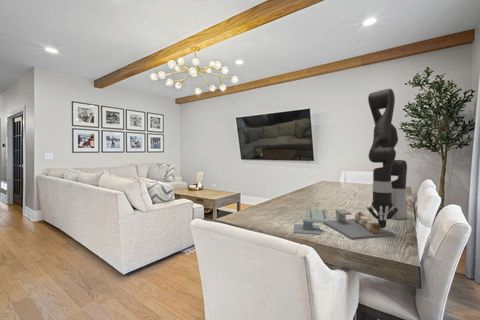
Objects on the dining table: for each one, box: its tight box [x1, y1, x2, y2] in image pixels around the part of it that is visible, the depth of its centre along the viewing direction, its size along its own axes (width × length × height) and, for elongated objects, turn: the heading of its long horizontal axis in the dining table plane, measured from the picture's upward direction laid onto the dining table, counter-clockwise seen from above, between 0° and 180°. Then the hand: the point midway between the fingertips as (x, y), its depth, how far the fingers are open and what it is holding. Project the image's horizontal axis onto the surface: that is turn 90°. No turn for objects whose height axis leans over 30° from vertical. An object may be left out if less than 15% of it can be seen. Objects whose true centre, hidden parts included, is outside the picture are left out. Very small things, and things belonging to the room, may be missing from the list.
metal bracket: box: [303, 207, 333, 221], centre depth 132 cm, size 14×6×15 cm
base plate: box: [323, 211, 396, 241], centre depth 114 cm, size 22×24×6 cm
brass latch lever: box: [354, 213, 381, 233], centre depth 114 cm, size 19×4×4 cm, turn 176°
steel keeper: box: [335, 209, 352, 222], centre depth 121 cm, size 4×6×6 cm
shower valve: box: [293, 218, 326, 236], centre depth 114 cm, size 12×6×15 cm
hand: (382, 227), depth 106 cm, fingers closed
